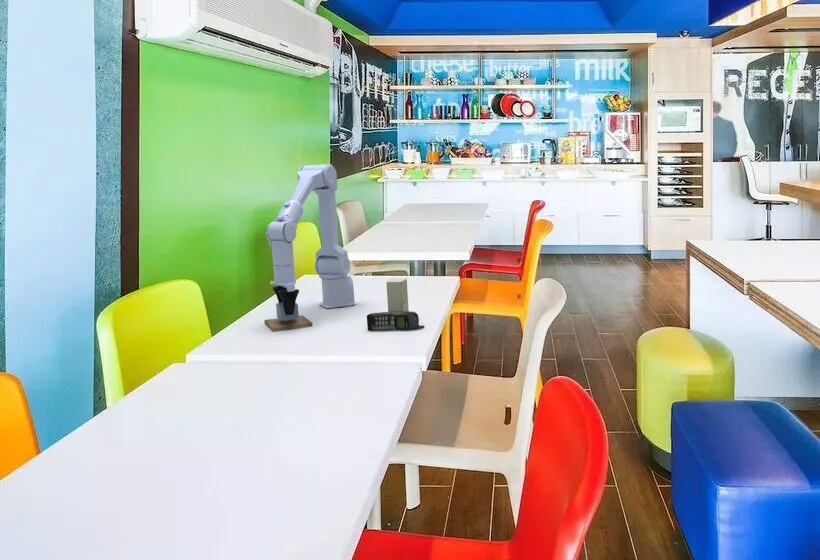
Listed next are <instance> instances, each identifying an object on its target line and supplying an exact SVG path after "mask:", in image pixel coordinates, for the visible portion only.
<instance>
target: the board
mask: <svg viewBox="0 0 820 560" xmlns="http://www.w3.org/2000/svg"><path fill="white" fill-rule="evenodd" d="M264 324H265V325H266V327H268V328H269V329H270V330H271V331H272V332H280V331H286V330H293V329H302V328H309V327H313V322H312V321H311V320H309V319H308V318H307V317H305V316H304V315H302V314H301V315H299V319H291V320H283V321H281V320H280V319H278V318H270V319H264Z"/></svg>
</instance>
